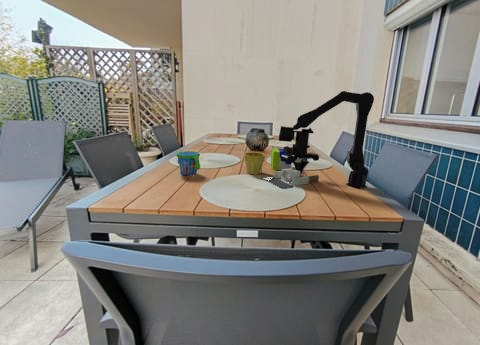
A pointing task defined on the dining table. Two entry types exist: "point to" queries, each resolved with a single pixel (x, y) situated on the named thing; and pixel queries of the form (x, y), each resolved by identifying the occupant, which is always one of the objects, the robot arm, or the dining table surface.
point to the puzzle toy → (278, 160)
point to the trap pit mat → (279, 183)
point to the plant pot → (254, 162)
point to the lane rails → (300, 179)
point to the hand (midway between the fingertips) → (298, 175)
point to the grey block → (289, 174)
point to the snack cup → (188, 162)
